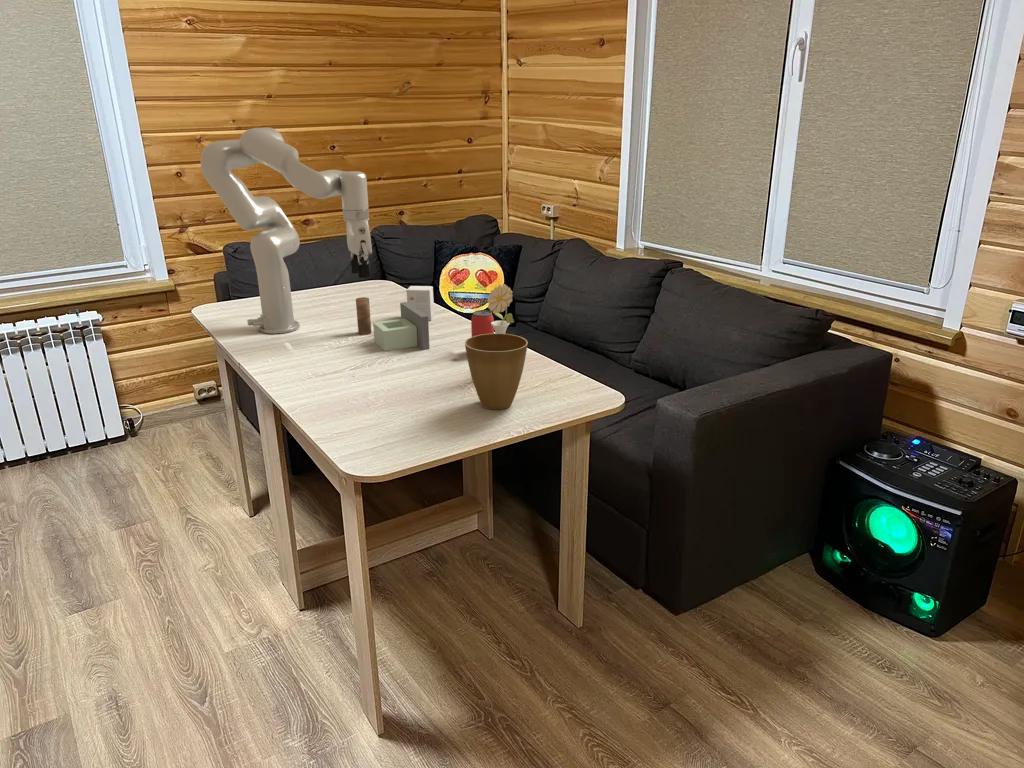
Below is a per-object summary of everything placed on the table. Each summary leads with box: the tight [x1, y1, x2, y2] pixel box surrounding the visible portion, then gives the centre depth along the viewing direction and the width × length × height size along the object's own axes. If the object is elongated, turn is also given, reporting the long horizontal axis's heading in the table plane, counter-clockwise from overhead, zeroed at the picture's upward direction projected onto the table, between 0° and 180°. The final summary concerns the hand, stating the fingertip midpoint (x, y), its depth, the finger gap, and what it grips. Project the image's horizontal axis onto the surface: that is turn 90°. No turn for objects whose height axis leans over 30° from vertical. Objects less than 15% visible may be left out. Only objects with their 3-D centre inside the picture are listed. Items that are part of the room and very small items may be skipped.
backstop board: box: [399, 301, 430, 351], centre depth 220 cm, size 22×18×11 cm
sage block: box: [372, 318, 419, 352], centre depth 222 cm, size 10×10×6 cm
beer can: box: [470, 309, 495, 337], centre depth 217 cm, size 7×7×12 cm
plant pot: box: [464, 332, 529, 410], centre depth 180 cm, size 15×15×16 cm
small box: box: [406, 285, 435, 321], centre depth 251 cm, size 8×6×10 cm
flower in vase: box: [487, 283, 515, 334], centre depth 199 cm, size 13×11×25 cm
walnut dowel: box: [355, 296, 372, 336], centre depth 232 cm, size 4×4×12 cm
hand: (360, 274), depth 227 cm, fingers open, 6 cm apart
